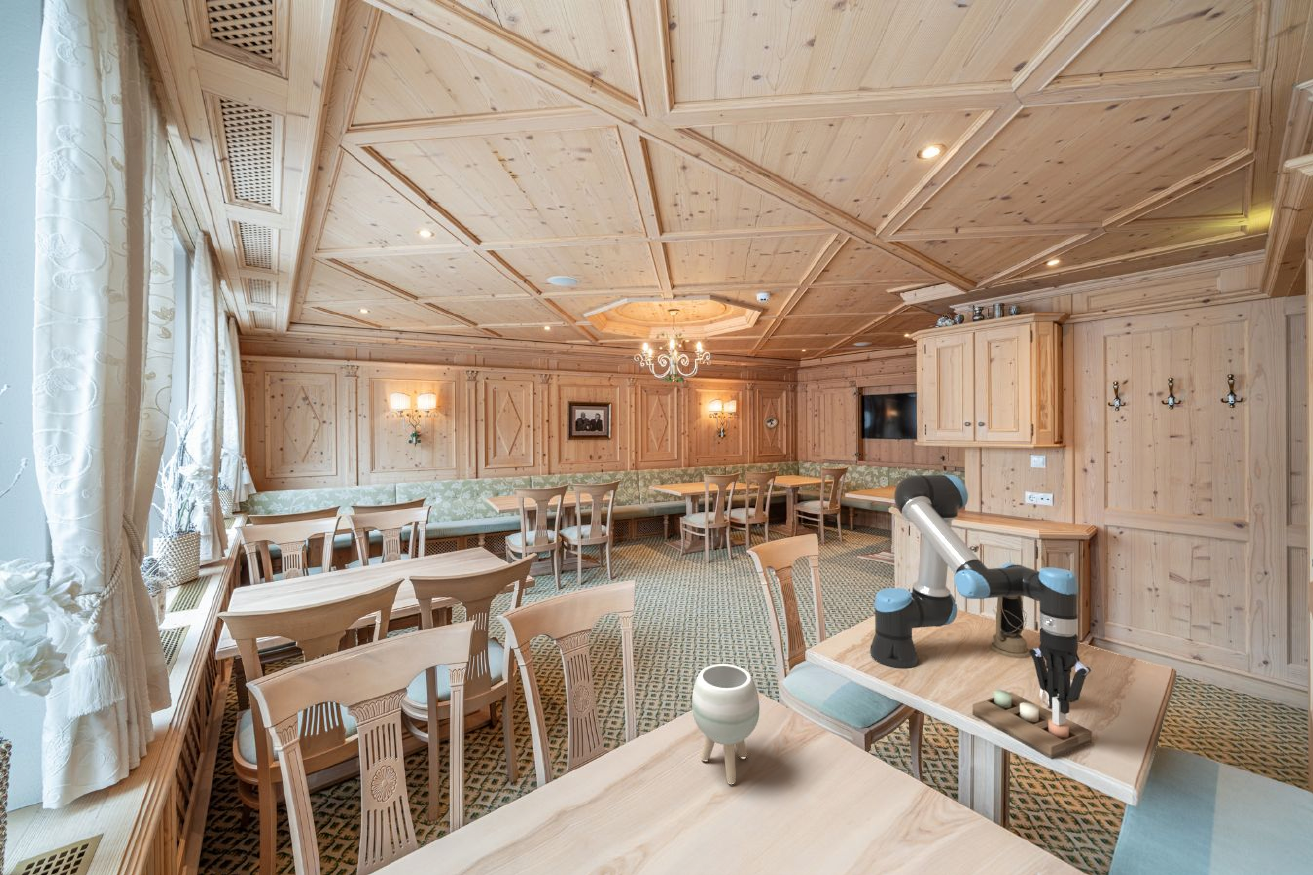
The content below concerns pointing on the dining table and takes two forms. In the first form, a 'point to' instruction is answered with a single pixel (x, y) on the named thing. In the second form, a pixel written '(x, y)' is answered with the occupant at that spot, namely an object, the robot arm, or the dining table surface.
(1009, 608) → the lantern
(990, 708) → the wooden egg tray
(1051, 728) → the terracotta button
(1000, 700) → the pale green egg
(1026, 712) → the white egg
